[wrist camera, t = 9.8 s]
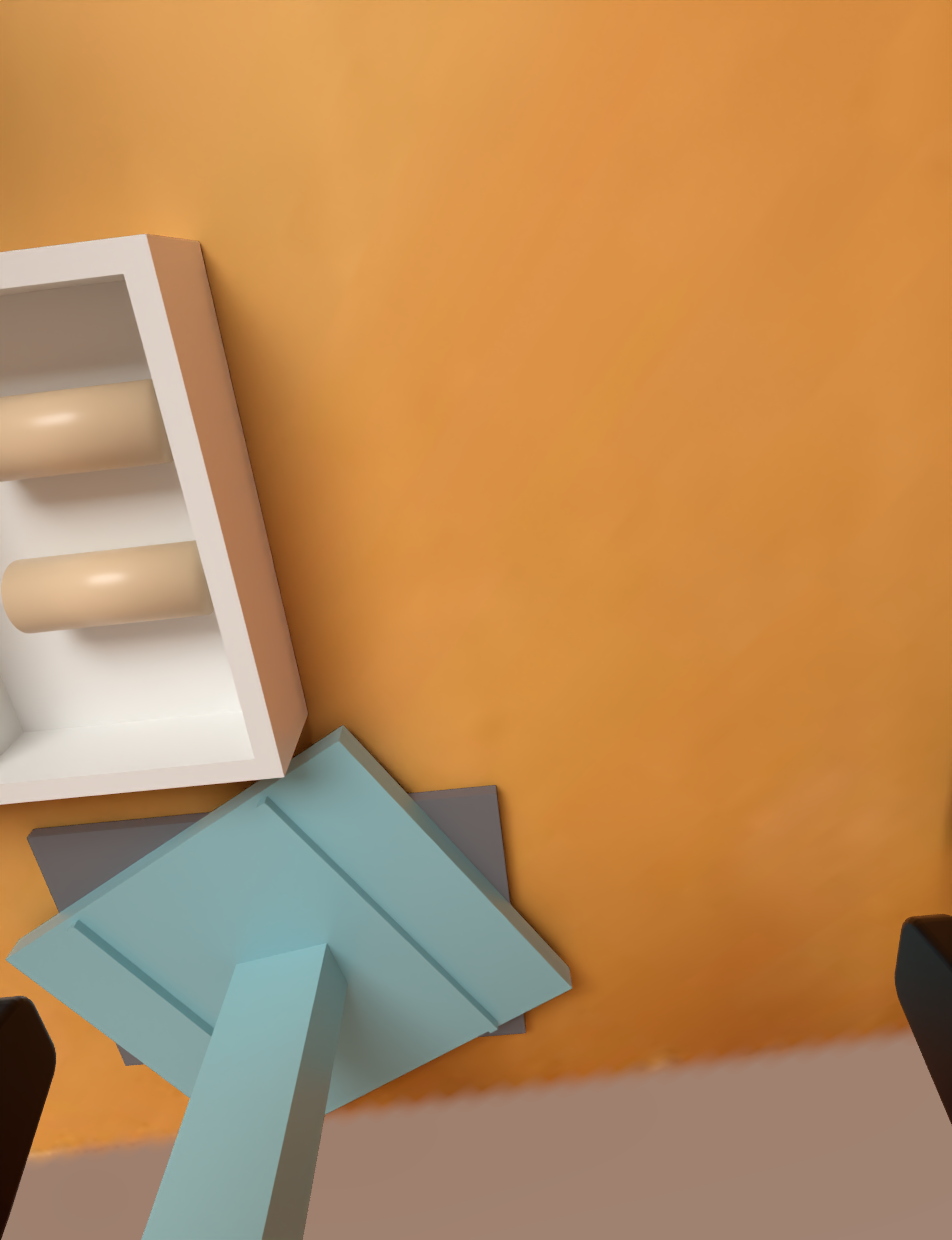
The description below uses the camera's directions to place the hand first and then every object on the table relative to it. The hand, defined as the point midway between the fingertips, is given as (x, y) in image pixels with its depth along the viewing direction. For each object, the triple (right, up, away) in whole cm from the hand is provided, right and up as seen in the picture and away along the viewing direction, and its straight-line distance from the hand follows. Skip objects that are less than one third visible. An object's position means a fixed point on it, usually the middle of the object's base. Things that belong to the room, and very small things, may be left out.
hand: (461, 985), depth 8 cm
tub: (-12, +6, +12) cm, 18 cm away
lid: (-6, -7, +17) cm, 19 cm away
